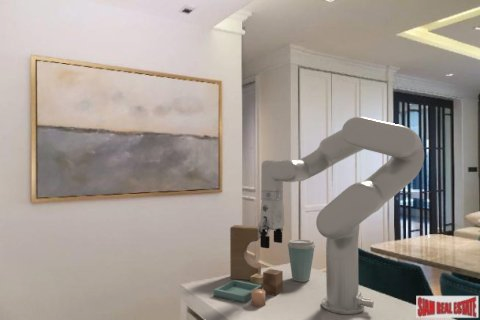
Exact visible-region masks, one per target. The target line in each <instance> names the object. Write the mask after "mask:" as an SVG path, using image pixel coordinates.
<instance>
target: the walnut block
mask: <svg viewBox="0 0 480 320" xmlns="http://www.w3.org/2000/svg"><path fill="white" fill-rule="evenodd" d="M262 275H263V290H265V295H266V294H267V295H271V296H275V297H276V296H278V295H279V294H281V293H283V290H284V286H283V283H284V282H283V281H284V280H283V279H284V278H283V270H279V269H272V268H269V269H266V270H265V271H263V272H262Z"/></svg>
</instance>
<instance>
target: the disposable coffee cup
mask: <svg viewBox="0 0 480 320" xmlns="http://www.w3.org/2000/svg"><path fill="white" fill-rule="evenodd" d="M287 248H288V255H289V263H290V271H291V278H292V280H293V281H296V282H308V281H310V278H311V271H312V265H313V259H314V252H315V248H316V245H315V242H314V240H312V239H292V240H289V241H288V242H287Z"/></svg>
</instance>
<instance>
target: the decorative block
mask: <svg viewBox="0 0 480 320" xmlns="http://www.w3.org/2000/svg"><path fill="white" fill-rule="evenodd" d="M229 229H230V230H229V231H230V235H229V237H230V238H229V240H230V242H229V243H230V244H229V245H230V247H229V249H230V263H229V265H230V273H229V274H230V279H232V280H238V281H251V276H252V275H254V274H261V275H262V267H261V265H260V264H259V263H255V262H254V261H253V260H251V258H250V256H249V255H248V248H249V247H248V246H250V244H251V243H252V242H257V241H259V240H260V232H259V227H258V225H243V224H242V225H241V224H240V225H239V224H238V225H237V224H234V225H232V226H230V228H229Z"/></svg>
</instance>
